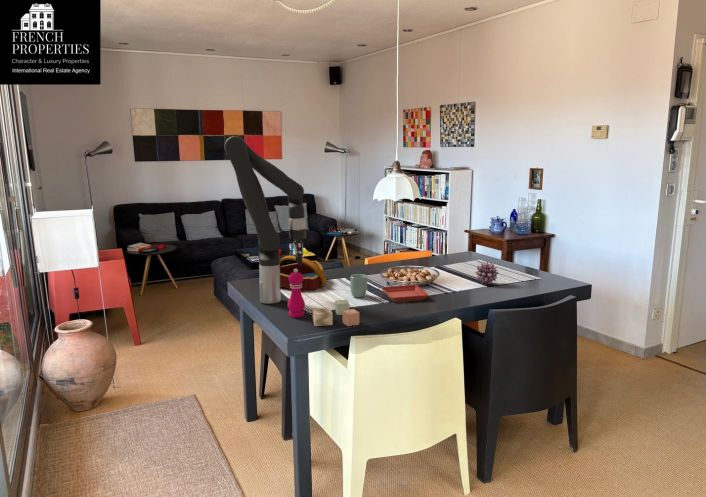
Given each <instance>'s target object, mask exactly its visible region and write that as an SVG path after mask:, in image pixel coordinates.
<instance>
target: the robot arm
mask: <svg viewBox="0 0 706 497" xmlns="http://www.w3.org/2000/svg"><path fill="white" fill-rule="evenodd" d="M223 146H224V148H223V149H224V151H225V154H226V155H227V157H228V158H229V161H230V163H231V165H232V167H233V170H234V173H235V176H236V181H237V185H238V188H239V192H240V194H241V198H242V200H243V204H244V206H245V208H246V209H247V212H248V213H249V216H250V218H251V220H252V222H253V224H254V227H255V231H256V235H257V242H258V243H257V244H258V265H259V266H258V268H259V269H258V270H259V271H258V272H259V274H258V275H259V303H260V304H269V305H270V304H277V303H281V301H282V300H281V299H282V298H281V297H282V295H281V286H280V266H281V264H280V259H281V257H280V242H281V241H280V235H279V233H278V231H277V230H276V228H275V226H274V224H273V222H272V219H271V216H270V213H269V207H268V202H267V199H266V196H265V192H264V190H263V188H262V185H261V183H260V181H259V179H258V176H257V174H256V172H257V173H258V174H259V175H260V176H261V177H262V178H264V179H265V180H266V181H267V182H269V183H270V184H272V185H273V186H275V187H276V188H278V189H279V190H280V191H282V192H283V193H285V194H286V196H287V204H288V234H289V235H288V238H289V239H290V240H293V242H292V244H293V251H294V254H295V255H294V256H295V257H296V261H295V262H296V263H297V264H298V265H302V257H303V256H304V254H303V253H304V248H303V246H304V242H303V241H302V240H304V239H306V238H307V228H306V225H307V224H306V217H305V208H304V207H305V206H304V200H303V197H304V194H305V189H304V187H303V186H302V185H301V184H300V183H299V182H297V181H295V180H294V179H293V178H291V177H289V175H288V174H286V173H285V172H284V171H282V170H281V169H279V167H277V166H276V165H274V164H272V163H271V162H269V161H268V160H267V159H264V158H263V157H262V156H261V155H260V154H257V152H255V151H254V150H253V149H252V148H251V147H250V146H249V145H248V144H247V142H246V141H245V140H244V138H242V137H240V136H238V135H234V136H233V135H232V136H229V138H227V139H226V140H225V142H224V145H223Z"/></svg>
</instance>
